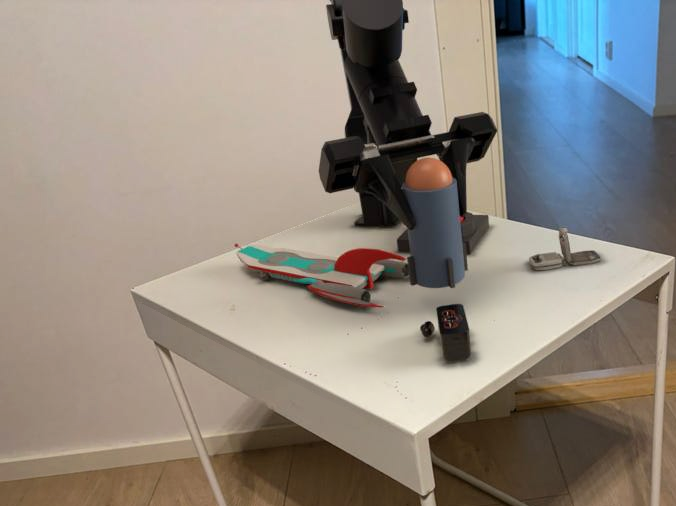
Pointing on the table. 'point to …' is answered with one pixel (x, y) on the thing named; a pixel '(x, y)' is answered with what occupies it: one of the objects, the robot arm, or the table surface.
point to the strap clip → (556, 259)
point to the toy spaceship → (326, 270)
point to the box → (470, 232)
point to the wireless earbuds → (451, 332)
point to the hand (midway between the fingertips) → (438, 221)
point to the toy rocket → (434, 226)
